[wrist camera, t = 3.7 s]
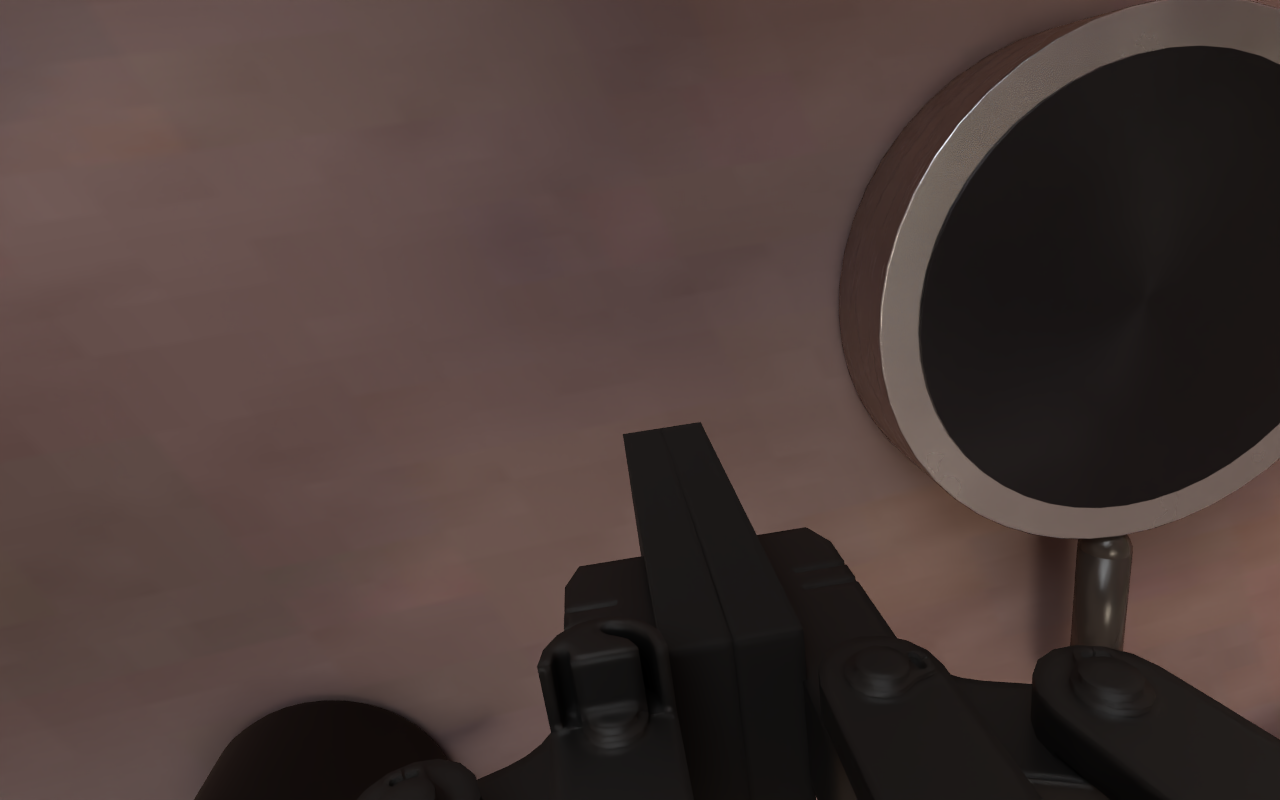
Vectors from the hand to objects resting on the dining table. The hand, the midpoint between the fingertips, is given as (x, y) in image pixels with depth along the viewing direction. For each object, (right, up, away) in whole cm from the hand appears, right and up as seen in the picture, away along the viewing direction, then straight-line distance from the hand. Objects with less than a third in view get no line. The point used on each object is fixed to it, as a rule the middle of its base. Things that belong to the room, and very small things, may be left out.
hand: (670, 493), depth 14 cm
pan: (+14, +2, +12) cm, 19 cm away
